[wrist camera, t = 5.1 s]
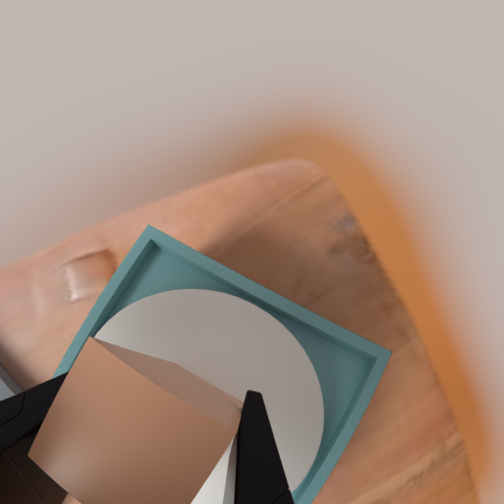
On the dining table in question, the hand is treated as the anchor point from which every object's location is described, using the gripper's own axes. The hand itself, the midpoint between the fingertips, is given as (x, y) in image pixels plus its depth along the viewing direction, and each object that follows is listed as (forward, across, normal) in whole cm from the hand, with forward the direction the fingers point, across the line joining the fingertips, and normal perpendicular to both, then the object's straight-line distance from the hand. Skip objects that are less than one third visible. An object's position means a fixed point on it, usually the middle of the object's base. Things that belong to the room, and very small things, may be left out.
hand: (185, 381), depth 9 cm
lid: (+2, 0, +4) cm, 4 cm away
